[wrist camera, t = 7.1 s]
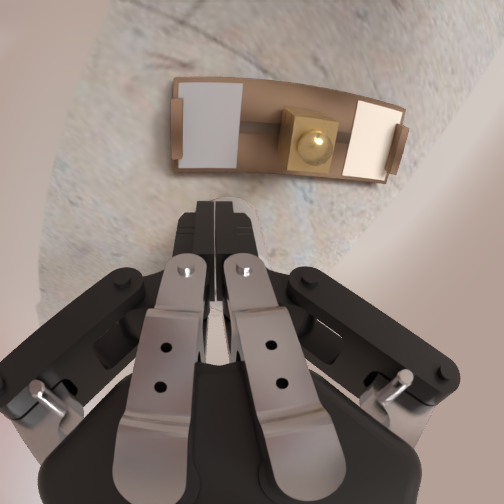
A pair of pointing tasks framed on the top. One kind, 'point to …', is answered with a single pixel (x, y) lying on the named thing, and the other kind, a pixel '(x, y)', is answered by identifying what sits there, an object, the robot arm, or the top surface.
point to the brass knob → (306, 140)
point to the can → (249, 210)
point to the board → (268, 127)
